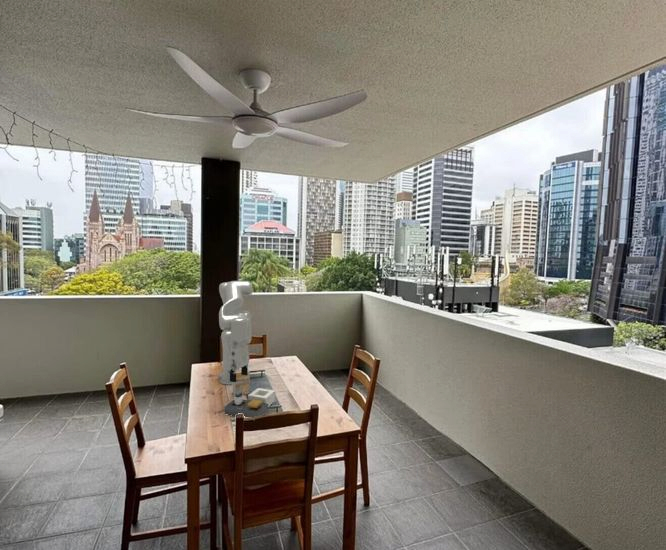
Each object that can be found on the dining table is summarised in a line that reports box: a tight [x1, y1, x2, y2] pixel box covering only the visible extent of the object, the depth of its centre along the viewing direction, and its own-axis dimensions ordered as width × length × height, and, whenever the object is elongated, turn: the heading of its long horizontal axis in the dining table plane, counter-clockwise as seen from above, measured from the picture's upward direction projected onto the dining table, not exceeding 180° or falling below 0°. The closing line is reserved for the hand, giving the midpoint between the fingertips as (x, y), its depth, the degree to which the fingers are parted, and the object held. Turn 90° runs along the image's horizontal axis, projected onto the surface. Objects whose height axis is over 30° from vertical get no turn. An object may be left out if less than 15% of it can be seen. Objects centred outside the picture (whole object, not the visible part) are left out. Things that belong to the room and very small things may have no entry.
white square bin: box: [247, 387, 276, 408], centre depth 173 cm, size 10×10×6 cm
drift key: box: [248, 399, 262, 409], centre depth 162 cm, size 5×5×5 cm
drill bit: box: [234, 386, 244, 406], centre depth 165 cm, size 4×4×12 cm
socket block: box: [223, 398, 269, 418], centre depth 164 cm, size 18×10×4 cm, turn 72°
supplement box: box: [231, 369, 251, 397], centre depth 185 cm, size 8×5×13 cm, turn 122°
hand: (238, 378), depth 164 cm, fingers open, 9 cm apart
